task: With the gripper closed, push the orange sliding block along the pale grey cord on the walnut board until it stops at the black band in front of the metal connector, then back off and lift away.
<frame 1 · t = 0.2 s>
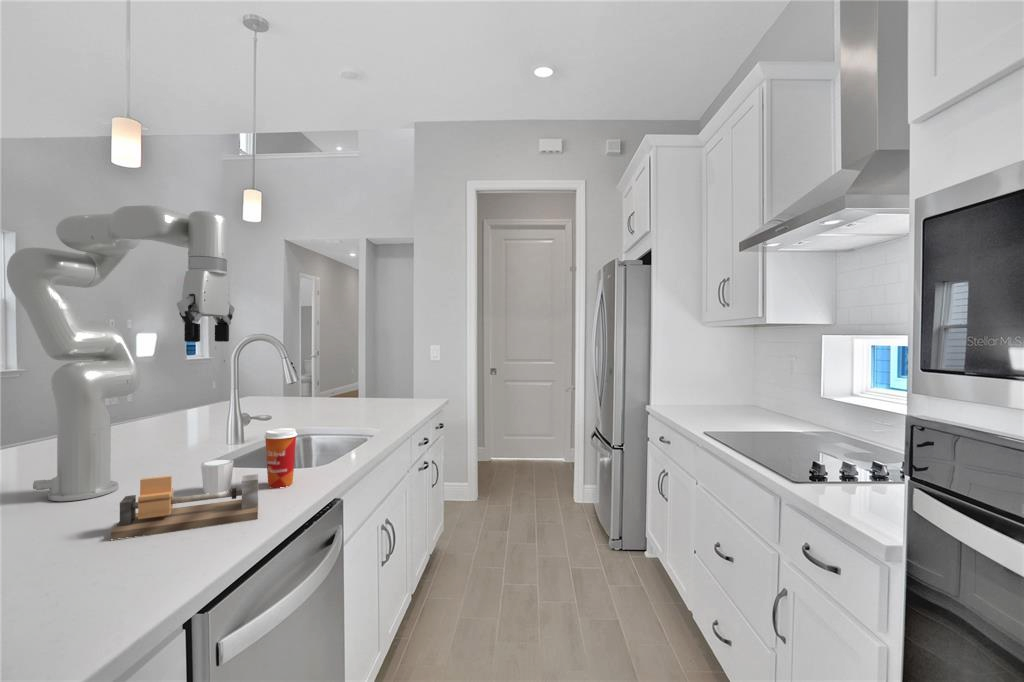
hand: (207, 341, 109), 37 cm above the countertop, tool pointing down, fingers open, 9 cm apart
cord board: (191, 520, 98), on the countertop
orange sliding block: (156, 495, 95), point 6 cm above the countertop, slide at 0.0 cm
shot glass: (217, 491, 117), on the countertop
paper cup: (280, 485, 122), on the countertop
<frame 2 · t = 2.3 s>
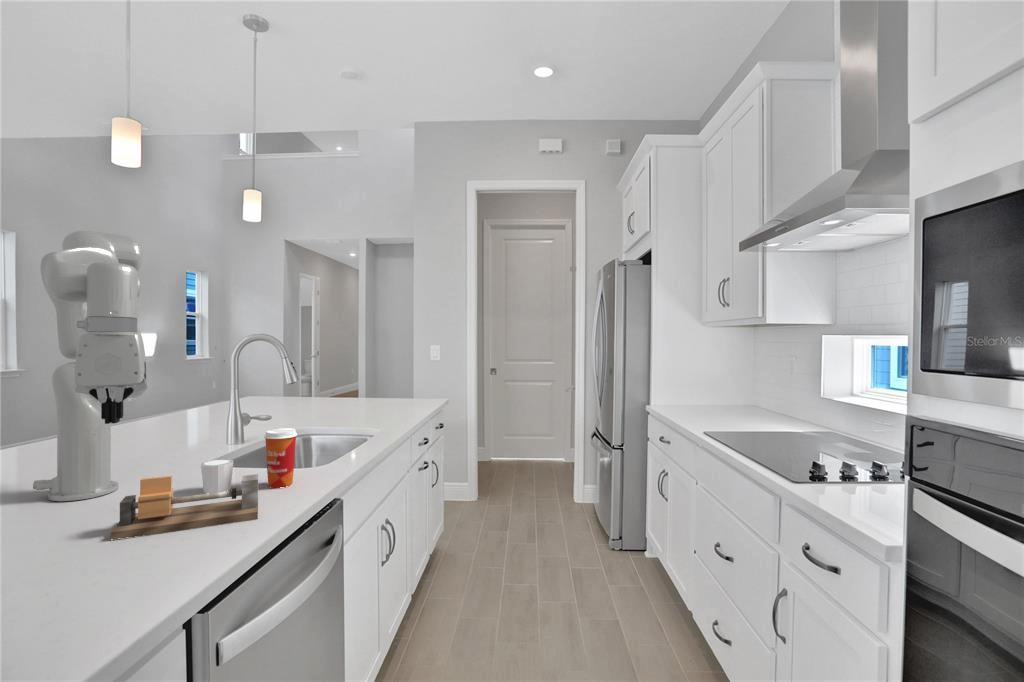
hand: (112, 422, 92), 21 cm above the countertop, tool pointing down, fingers closed
nothing on the countertop moved.
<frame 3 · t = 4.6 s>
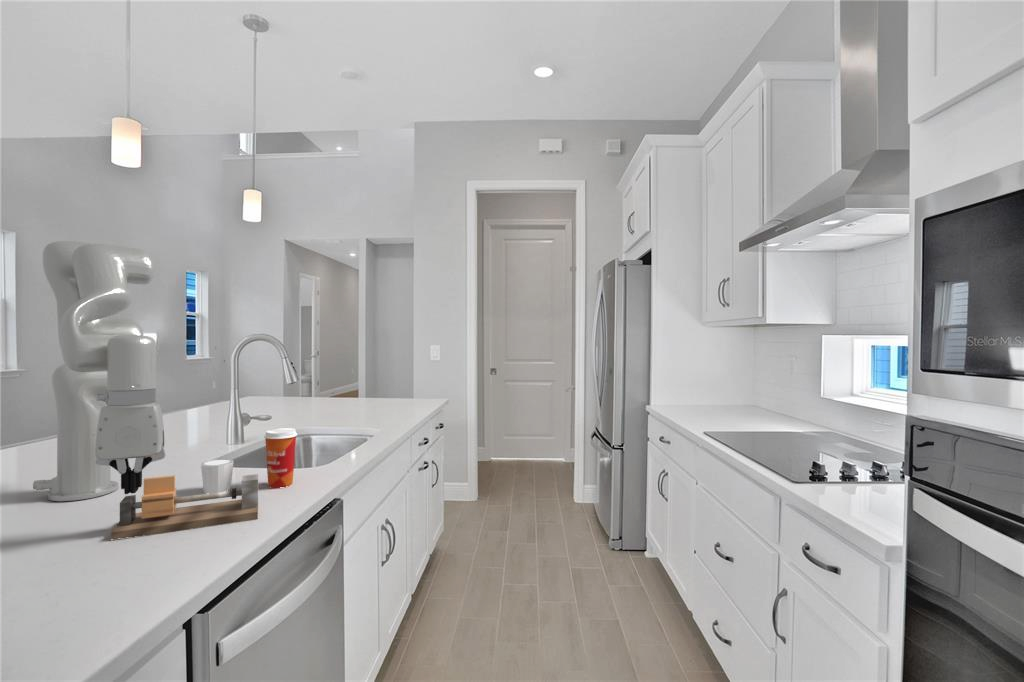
hand: (131, 491, 93), 7 cm above the countertop, tool pointing down, fingers closed
orange sliding block: (159, 495, 95), point 6 cm above the countertop, slide at 0.6 cm, touching gripper
everything else where it was.
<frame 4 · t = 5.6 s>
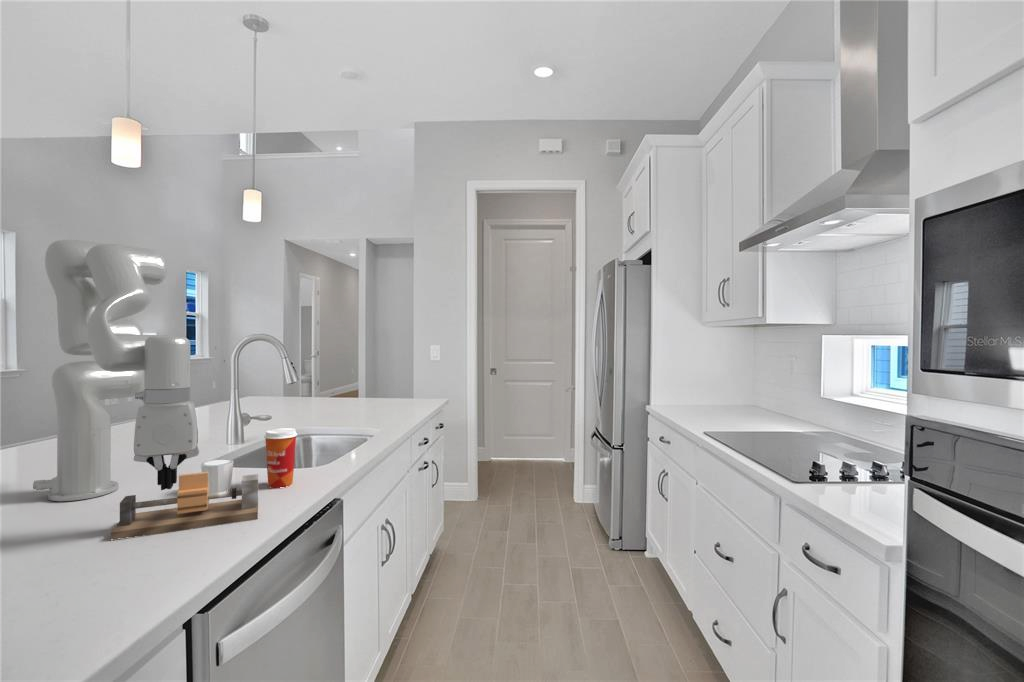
hand: (167, 487, 96), 7 cm above the countertop, tool pointing down, fingers closed
orange sliding block: (193, 491, 98), point 6 cm above the countertop, slide at 6.3 cm, touching gripper
everything else where it was.
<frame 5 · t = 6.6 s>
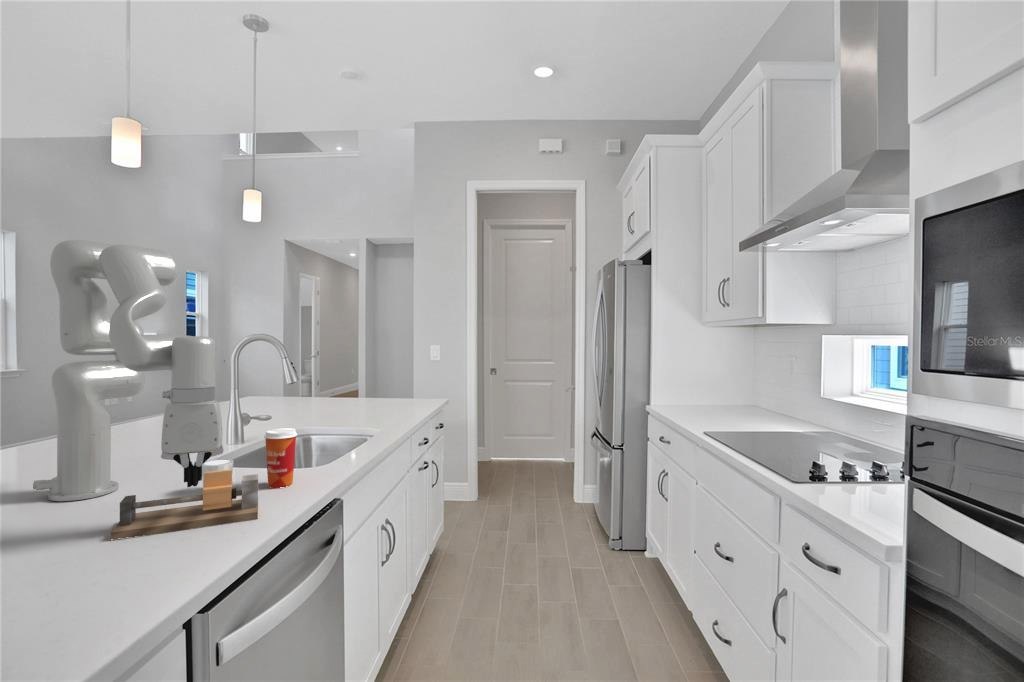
hand: (192, 484, 98), 7 cm above the countertop, tool pointing down, fingers closed
orange sliding block: (218, 488, 100), point 6 cm above the countertop, slide at 10.6 cm, touching gripper
everything else where it was.
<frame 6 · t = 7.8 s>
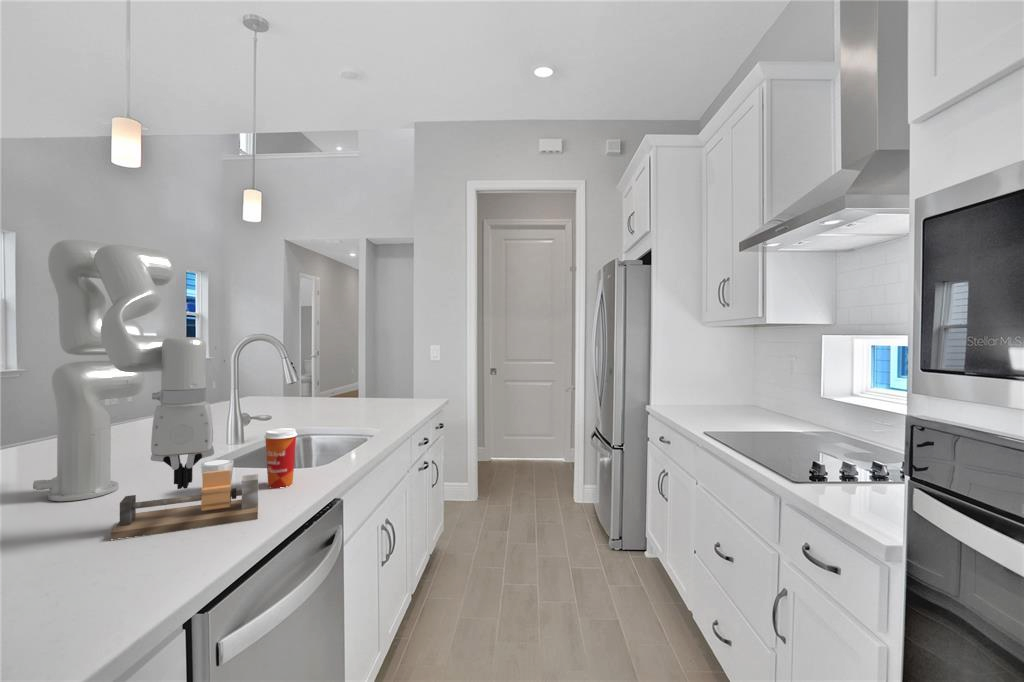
hand: (183, 486, 97), 7 cm above the countertop, tool pointing down, fingers closed
orange sliding block: (216, 488, 100), point 6 cm above the countertop, slide at 10.3 cm
everything else where it was.
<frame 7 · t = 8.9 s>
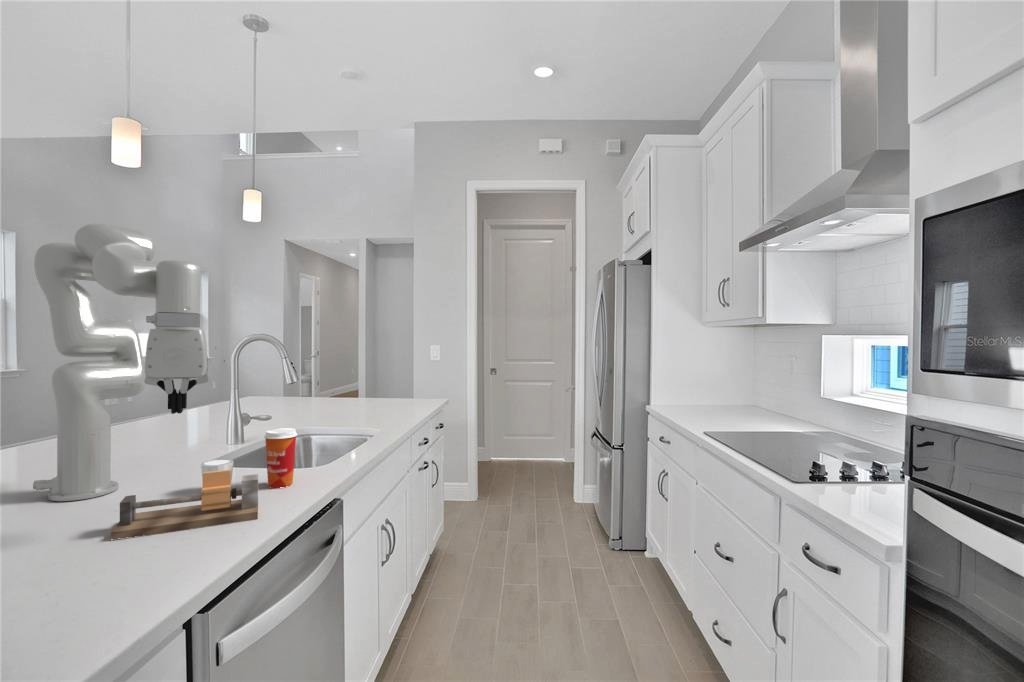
hand: (177, 412, 97), 22 cm above the countertop, tool pointing down, fingers closed
nothing on the countertop moved.
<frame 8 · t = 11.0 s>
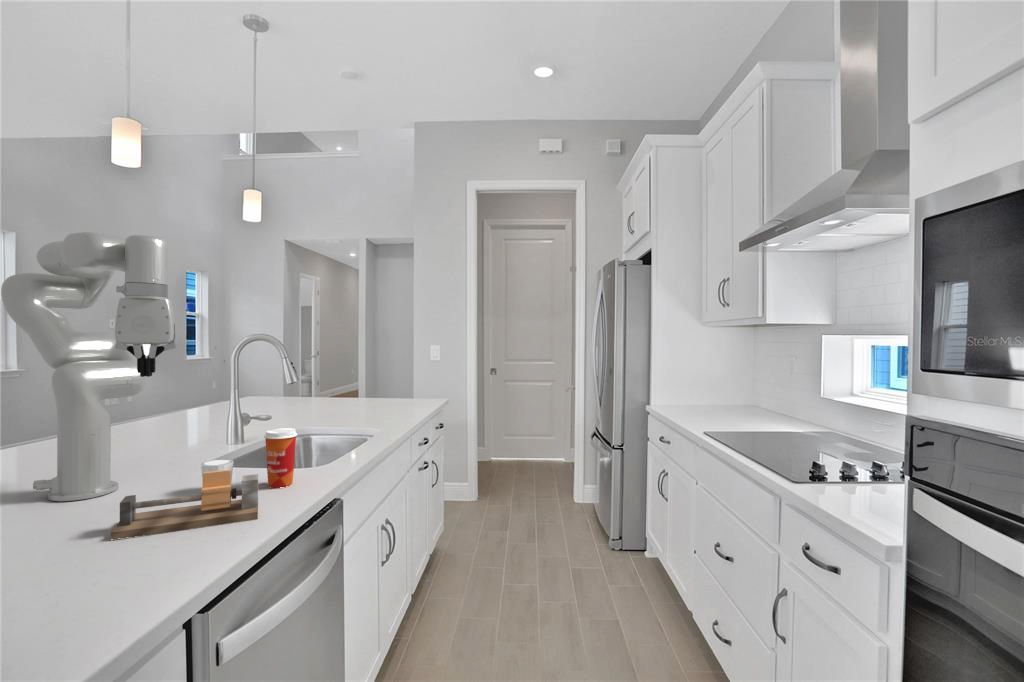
hand: (146, 376, 105), 29 cm above the countertop, tool pointing down, fingers closed
nothing on the countertop moved.
at the end: orange sliding block slide at 10.3 cm; the gripper is holding nothing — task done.
